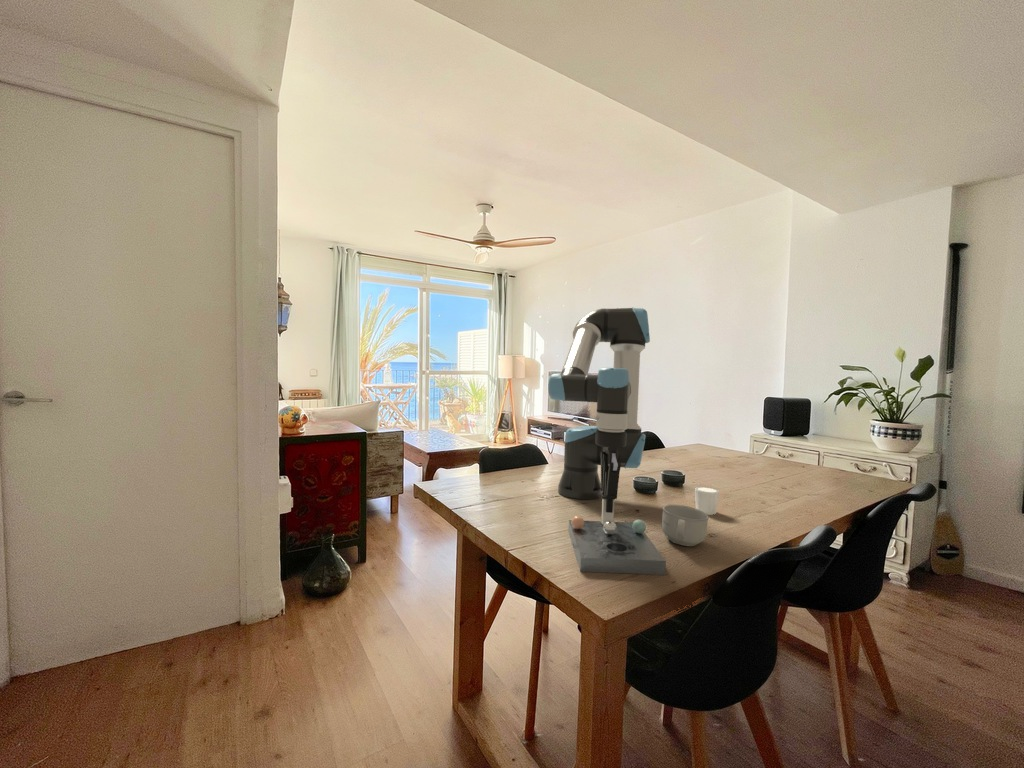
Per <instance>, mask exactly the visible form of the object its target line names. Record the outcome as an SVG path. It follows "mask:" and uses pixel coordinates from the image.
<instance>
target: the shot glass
mask: <svg viewBox="0 0 1024 768" xmlns="http://www.w3.org/2000/svg"><path fill="white" fill-rule="evenodd" d="M719 495H720V491H719V490H718V489H715V488H712V487H708V486H697V487H695V488H694V498H695V509H698V510H701V511H703V512H705V513H706V514H707V515H708V516H714V515H716V514H717V508H718V501H719ZM713 514H714V515H713Z"/></svg>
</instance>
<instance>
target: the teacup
mask: <svg viewBox="0 0 1024 768" xmlns="http://www.w3.org/2000/svg"><path fill="white" fill-rule="evenodd" d="M709 517H710V515H707V514H706V513H705V512H703V511H701V510H698V509H696V507H692V506H688V505H682V504H665V505H663V506H662V517H661V518H662V520H661V528H662V532H663V533H664V535H665V536H666V537H667V538H668V540H669V541H671V542H673V543H674V544H677V545H680V546H684V547H695V546H697V545H698V544H701V543H702V542H703V541H704V540H705V538H706V534H707V528H708V523H709V522H708V521H709Z"/></svg>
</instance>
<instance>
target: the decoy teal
mask: <svg viewBox="0 0 1024 768" xmlns="http://www.w3.org/2000/svg"><path fill="white" fill-rule="evenodd" d="M632 527H633V530H634V531H635V532H636V533H643V532H644V533H645V531H646V529H647V526H646V523H645V521H644V520H642V519H636V520H634V521H633V525H632Z"/></svg>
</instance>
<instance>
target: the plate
mask: <svg viewBox="0 0 1024 768" xmlns="http://www.w3.org/2000/svg"><path fill="white" fill-rule="evenodd" d="M571 521H572V519H568V534H569V538H570V542H571V543H572V544H571V545H572V548H573V552H574V555H575V558H576V561H577V564H578V565H577V566H578V569H579V572H582V573H608V574H609V573H610V574H611V573H612V574H635V575H637V574H638V575H660V576H661V575H662V576H666V571H667V570H666V568H667V560H666V559H665V558H664V556H663V554H661V552H660V551H659V550H658V548H657V547H656V546H655V545H654V543H653V541H651V539H650V537H649V536H648V535H647V534H646V532H645V531H644V532H643V533H636V532H635V531H634V530H633V527H632V525H633V522H634V521H633V522H632V521H631V522H629V521H614V523H615V524H616V526H617V530H616V532H615V533H614V534H613V535H609V534H607V533H605V531H604V529H603V526H604V524H602V522H601V520H600V521H599V520H584V526H583V528H581V529H575V528H574V527H573V526H572V523H571Z"/></svg>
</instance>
